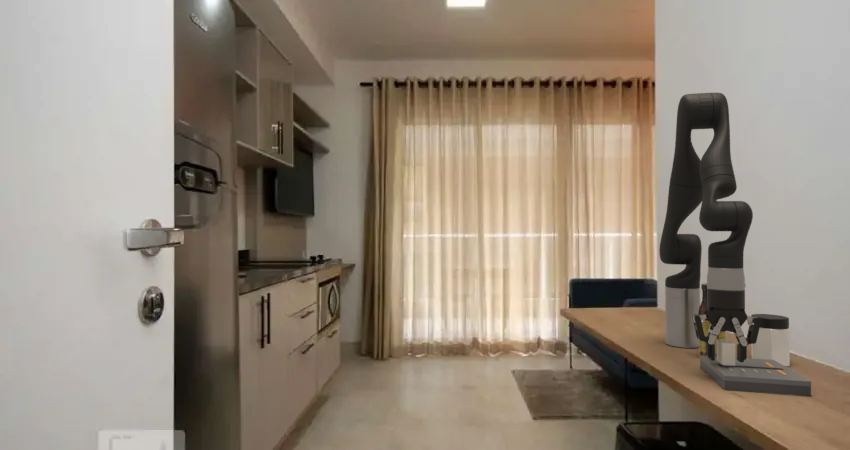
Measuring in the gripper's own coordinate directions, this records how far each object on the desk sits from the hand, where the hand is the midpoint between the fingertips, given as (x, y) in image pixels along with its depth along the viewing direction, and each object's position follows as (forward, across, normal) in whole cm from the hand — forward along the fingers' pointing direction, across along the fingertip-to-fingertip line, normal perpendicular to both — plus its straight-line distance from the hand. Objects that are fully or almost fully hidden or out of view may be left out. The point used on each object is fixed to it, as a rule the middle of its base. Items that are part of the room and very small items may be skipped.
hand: (725, 360), depth 115 cm
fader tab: (+2, 0, 0) cm, 2 cm away
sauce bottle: (+4, -3, -21) cm, 22 cm away
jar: (+4, -16, -19) cm, 25 cm away
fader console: (+4, -5, 0) cm, 7 cm away
